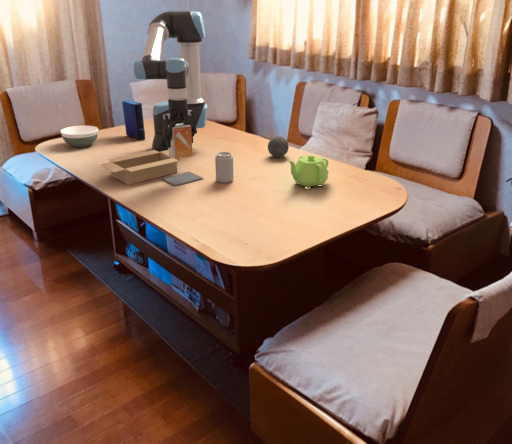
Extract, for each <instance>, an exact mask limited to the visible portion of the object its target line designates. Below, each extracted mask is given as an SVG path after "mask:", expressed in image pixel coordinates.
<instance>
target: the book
mask: <svg viewBox="0 0 512 444" xmlns="http://www.w3.org/2000/svg"><path fill="white" fill-rule="evenodd" d="M121 103H122V110H123V117H124V126H125V135H126V136H128V137H130V138H133V139H135V140H137V141H144V140H145V139H146V130H145V124H144V114H143V112H144V111H143V106H142V105H143V104H142V102H137V101H135V100H132V99H131V100H130V99H126V100H123V101H121Z"/></svg>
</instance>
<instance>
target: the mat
mask: <svg viewBox="0 0 512 444" xmlns="http://www.w3.org/2000/svg"><path fill="white" fill-rule="evenodd" d="M160 178H161V180H162V181H164V182H166V183H168V184H169V185H171V186H173V187H177V186H181V185H185V184H190V183H194V182H197V181H201V180H204V177H202V176H200V175H198V174H195V173H194V172H191V171H184V172H181V173H175V174H171V175H167V176H163V177H160Z"/></svg>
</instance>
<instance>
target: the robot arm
mask: <svg viewBox="0 0 512 444" xmlns="http://www.w3.org/2000/svg"><path fill="white" fill-rule="evenodd" d="M147 35H148V36H147V40H146V43H145V48H144V50H143V54H142V57H141V59H139V60H135V61H134V62H133V74H134V77H135V78H136V80H145V81H146V80H166V86H167V87H166V88H167V98H168V99H167V101H160V102H157V103H155V104H153V106H152V117H153V128H154V130H153V131H154V135H153V140H152V143H151V148H152V150H156V151H158V152H161V151H166V150H169V155H171V156H174V152H173V140H171V138H172V128H173V127H175V125H176V124H182V123H183V124H185V125H190V126H191V135H192V144H193V143H194V137H195V135H196V134H198V129H203V128H205V127H206V124H207V118H208V110H209V109H208V106H209V105H208V104H207V103H205V99H204V98H202V91H201V90H202V89H201V88H202V87H201V66H200V65H201V64H200V60H201V59H200V45H201V44H202V43H203V39H206V29H205V23H204V18H203V15H202V13H201V12H199V11H193V10H181V11H172V10H170V11H169V10H167V11H164V12H161V13H160V14H158V15H157V16H155V17H154V18H153V19H152V20H151V21H150V23H149V25H148V27H147ZM168 39H176V43H177V45H179V47H180V56H181V57H170V58H169V57H168V58H166V60H164V59H163V60H162V55H163V51H164V47H165V42H166V41H167V40H168ZM168 125H169V128H168Z"/></svg>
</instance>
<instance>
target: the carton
mask: <svg viewBox="0 0 512 444" xmlns="http://www.w3.org/2000/svg"><path fill="white" fill-rule="evenodd" d="M108 161H109V162H104V163H100V164H99V165H100V166H102V167H103V168H105V169H107V171H110V174H111V175H110V176H112V177H113V178H116V179H117V180H119V181H121V182H123V183H124V184H125V185H132V184H136V183H139V182H144V181H148V180H152V179H156V178H162V177H166V176H170V175H174V174H178V163H179V159H174V158H173V157H171V156H169V150H166V151H161V152H158V151H156V150H153V149H152V150H147V151H141V152H138V153H133V154H129V155H124V156H118V157H115V158H109V159H108Z"/></svg>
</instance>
